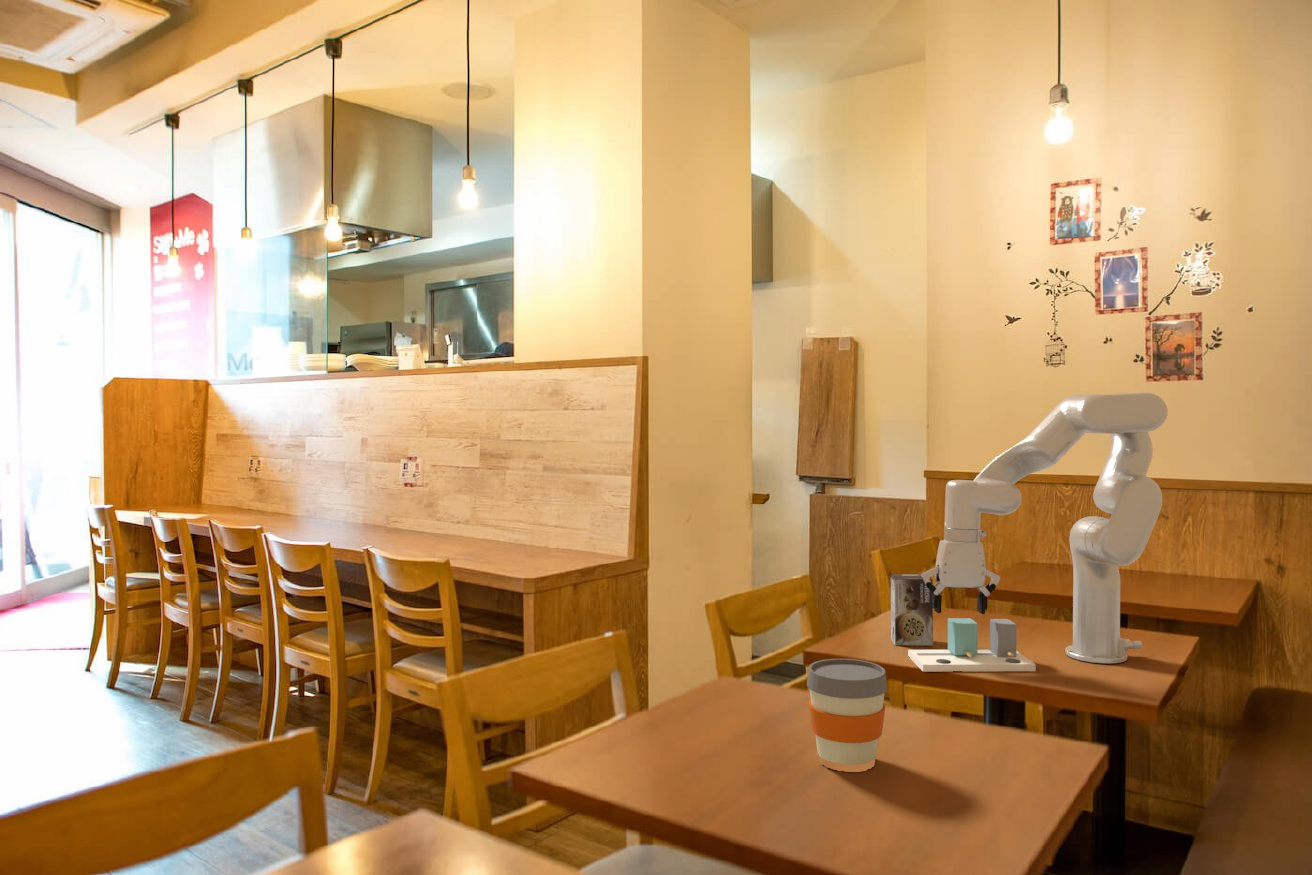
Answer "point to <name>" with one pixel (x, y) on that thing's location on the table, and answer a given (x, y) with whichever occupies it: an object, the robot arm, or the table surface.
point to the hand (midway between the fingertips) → (959, 612)
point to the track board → (979, 654)
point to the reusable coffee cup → (847, 709)
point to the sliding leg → (962, 636)
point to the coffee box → (911, 611)
